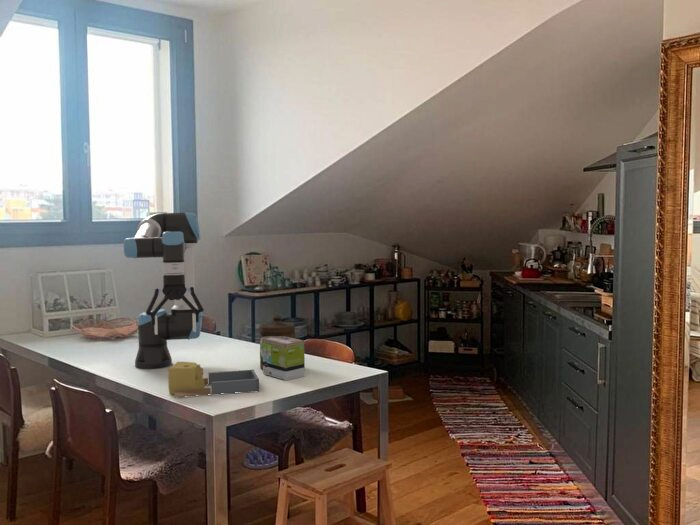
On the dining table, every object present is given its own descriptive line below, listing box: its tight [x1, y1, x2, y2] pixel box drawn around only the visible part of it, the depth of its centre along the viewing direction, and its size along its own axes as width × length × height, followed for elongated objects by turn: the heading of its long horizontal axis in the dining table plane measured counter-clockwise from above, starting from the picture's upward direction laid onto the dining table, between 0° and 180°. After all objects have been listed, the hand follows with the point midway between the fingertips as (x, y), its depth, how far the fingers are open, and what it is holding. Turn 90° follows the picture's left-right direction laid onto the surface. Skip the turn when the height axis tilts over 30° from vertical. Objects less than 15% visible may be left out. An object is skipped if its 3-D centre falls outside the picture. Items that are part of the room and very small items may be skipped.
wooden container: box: [259, 314, 296, 371], centre depth 293 cm, size 15×15×22 cm
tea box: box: [262, 336, 306, 381], centre depth 280 cm, size 15×10×15 cm
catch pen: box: [207, 369, 260, 395], centre depth 262 cm, size 16×17×4 cm
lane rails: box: [174, 377, 212, 398], centre depth 258 cm, size 16×12×2 cm
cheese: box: [167, 361, 206, 395], centre depth 257 cm, size 10×11×10 cm
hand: (175, 332), depth 256 cm, fingers open, 13 cm apart
